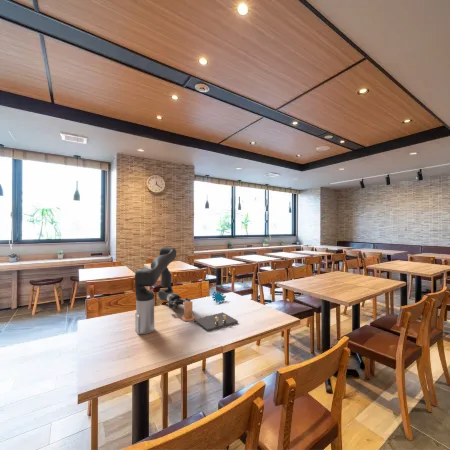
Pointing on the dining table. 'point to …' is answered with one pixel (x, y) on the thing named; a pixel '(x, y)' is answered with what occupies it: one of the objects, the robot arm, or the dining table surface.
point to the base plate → (215, 321)
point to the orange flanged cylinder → (188, 312)
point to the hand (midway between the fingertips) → (183, 305)
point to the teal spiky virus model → (218, 297)
